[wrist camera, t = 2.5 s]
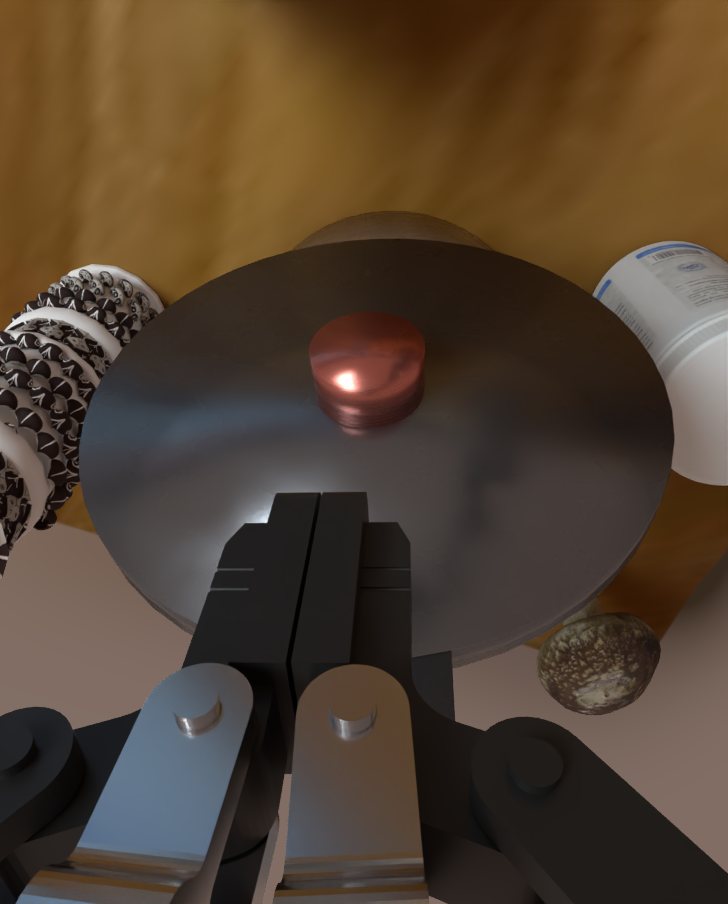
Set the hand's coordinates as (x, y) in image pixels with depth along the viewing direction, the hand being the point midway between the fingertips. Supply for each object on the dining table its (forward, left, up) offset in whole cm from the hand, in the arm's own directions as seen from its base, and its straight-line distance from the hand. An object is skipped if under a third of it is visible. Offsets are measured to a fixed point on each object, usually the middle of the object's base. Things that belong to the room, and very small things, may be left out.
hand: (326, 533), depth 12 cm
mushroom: (-14, +31, -36) cm, 50 cm away
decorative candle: (+20, +10, -36) cm, 43 cm away
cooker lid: (0, +6, -12) cm, 14 cm away
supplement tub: (-18, +10, -36) cm, 42 cm away
